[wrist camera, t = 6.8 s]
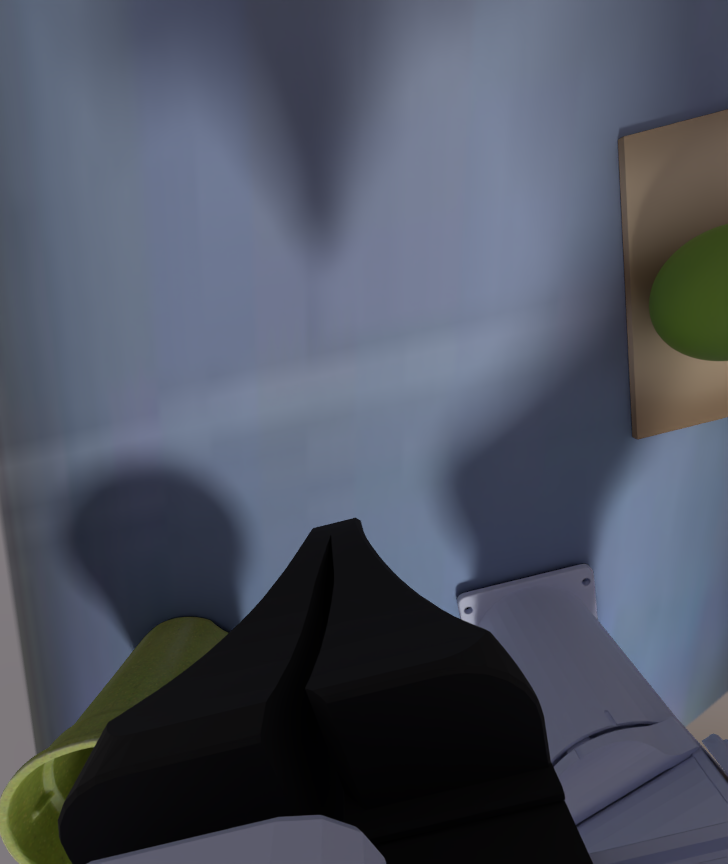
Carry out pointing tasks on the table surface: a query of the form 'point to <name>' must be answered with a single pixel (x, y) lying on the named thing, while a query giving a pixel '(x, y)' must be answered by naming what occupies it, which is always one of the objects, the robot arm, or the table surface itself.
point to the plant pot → (93, 738)
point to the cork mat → (649, 250)
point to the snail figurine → (694, 297)
